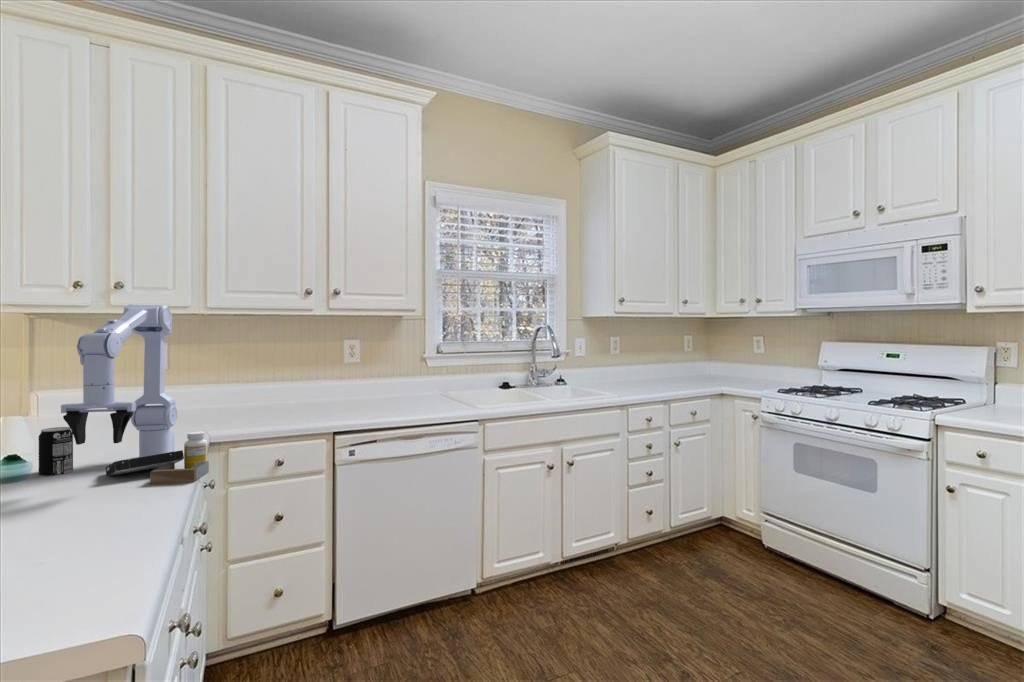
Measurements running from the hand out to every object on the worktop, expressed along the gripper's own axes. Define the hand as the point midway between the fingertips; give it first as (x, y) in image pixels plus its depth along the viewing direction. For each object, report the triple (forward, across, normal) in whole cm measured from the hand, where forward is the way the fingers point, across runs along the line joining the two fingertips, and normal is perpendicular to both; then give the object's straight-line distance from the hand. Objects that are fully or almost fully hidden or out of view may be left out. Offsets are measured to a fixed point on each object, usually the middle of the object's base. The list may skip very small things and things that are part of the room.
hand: (99, 443), depth 123 cm
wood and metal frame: (+10, +15, +7) cm, 19 cm away
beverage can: (+11, -17, +15) cm, 25 cm away
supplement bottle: (+11, +15, +16) cm, 24 cm away
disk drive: (+8, -2, +8) cm, 11 cm away
